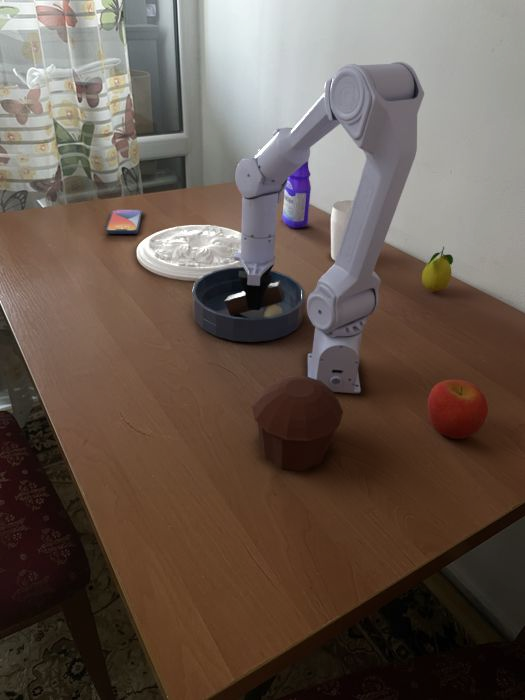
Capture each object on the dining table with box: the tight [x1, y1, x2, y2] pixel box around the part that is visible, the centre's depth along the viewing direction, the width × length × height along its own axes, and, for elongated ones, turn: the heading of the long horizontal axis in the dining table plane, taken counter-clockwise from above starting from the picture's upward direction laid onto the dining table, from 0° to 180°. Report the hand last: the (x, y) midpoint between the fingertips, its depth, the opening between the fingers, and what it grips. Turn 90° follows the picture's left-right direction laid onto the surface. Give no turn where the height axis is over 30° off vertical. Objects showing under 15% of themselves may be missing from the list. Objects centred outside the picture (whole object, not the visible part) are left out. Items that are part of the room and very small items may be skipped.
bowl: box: [191, 267, 306, 343], centre depth 100 cm, size 20×20×5 cm
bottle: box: [282, 158, 312, 229], centre depth 136 cm, size 7×6×17 cm
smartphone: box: [105, 209, 143, 235], centre depth 135 cm, size 7×15×1 cm, turn 6°
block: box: [225, 281, 285, 316], centre depth 98 cm, size 3×10×3 cm, turn 84°
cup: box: [330, 199, 354, 261], centre depth 122 cm, size 9×9×12 cm
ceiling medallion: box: [136, 224, 243, 282], centre depth 122 cm, size 28×28×3 cm
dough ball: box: [263, 304, 283, 317], centre depth 98 cm, size 4×4×4 cm
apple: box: [427, 379, 489, 440], centre depth 75 cm, size 8×8×8 cm
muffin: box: [251, 375, 344, 472], centre depth 70 cm, size 12×11×10 cm
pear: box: [421, 246, 454, 293], centre depth 110 cm, size 7×6×10 cm
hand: (254, 303), depth 98 cm, fingers closed on block, 3 cm apart
